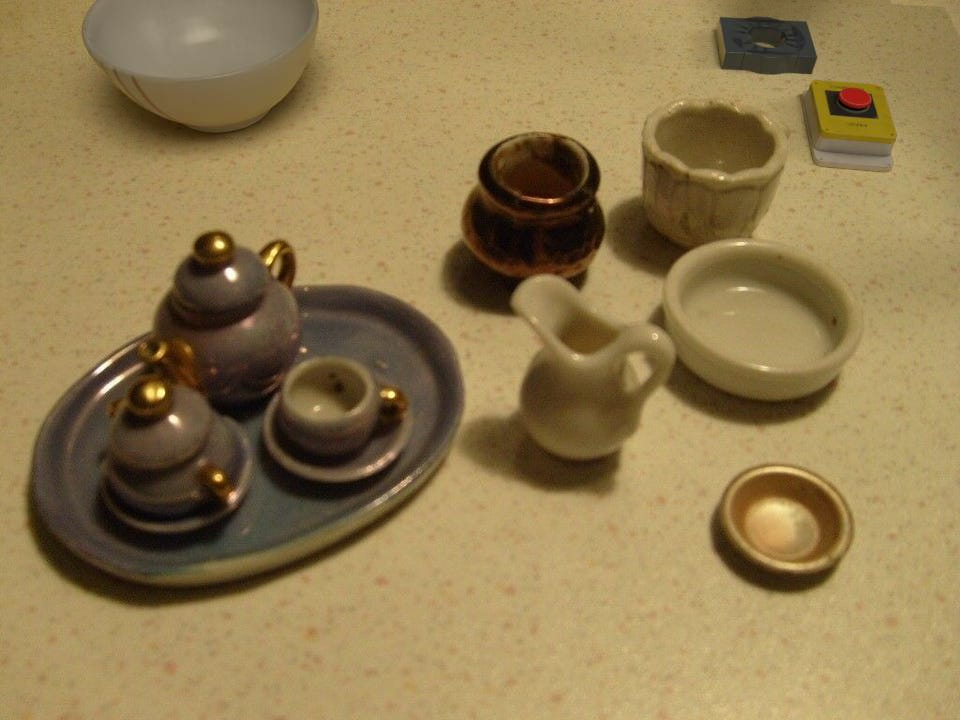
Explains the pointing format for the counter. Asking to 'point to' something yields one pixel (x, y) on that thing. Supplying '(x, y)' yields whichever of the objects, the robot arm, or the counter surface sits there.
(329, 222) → the counter surface
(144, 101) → the decorative bowl
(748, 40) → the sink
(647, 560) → the counter surface
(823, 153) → the emergency button
